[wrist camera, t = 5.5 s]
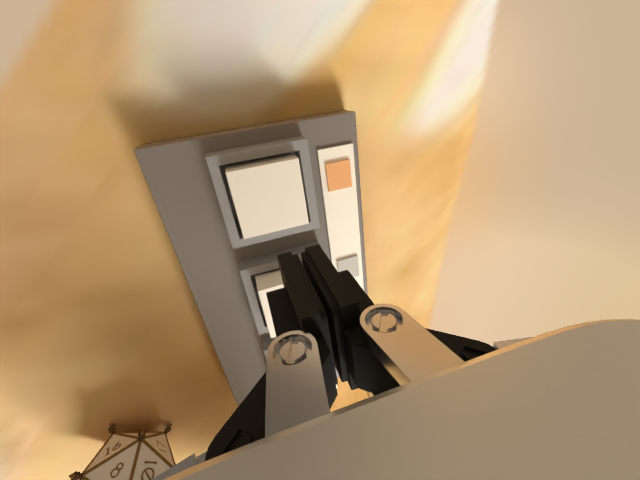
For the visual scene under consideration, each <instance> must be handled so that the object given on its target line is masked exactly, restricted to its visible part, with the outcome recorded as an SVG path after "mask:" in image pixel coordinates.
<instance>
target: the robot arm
mask: <svg viewBox="0 0 640 480" xmlns="http://www.w3.org/2000/svg"><path fill="white" fill-rule="evenodd" d="M301 258H302V263H301V261H300V259H299V257H298V255H297V254H294V255H292V253H291V252H287V253H283V254H279V255H277V259H278V263H279V268H280V272H281V276H282V281H283V285H284V288H280V289H277V290H273V291H270V292H266V295H267V299H268V304H269V308H270V312H271V316H272V320H273V325H274V329H275V333H276V337H277V338H276V339H274V340H273V341H272V342H271V344H270V346H269V347H268V351H267V365H266V372H265V373H264V374H263V376H262V377H261V378H260V380H259V381H258V382H257V383H256V385H255V386H254V387H253V389H252V390H251V391H250V392H249V394H248V395H247V396H246V398H245V399H244V400H243V402H242V403H241V404H240V405H239V407H238V408H237V409H236V411H235V412H234V413H233V414H232V416H231V417H230V418H229V420H228V421H227V422H226V423H225V425H224V426H223V427H222V429H221V430H220V431H219V432H218V434H217V435H216V436H215V438H214V439H213V441H212V442H211V444H210V446H209V447H208V450H207V451H206V452H205V453H203V454H201V455H200V456H198V457H196V455H195V453H194V454H193V455H191V456H189V457H188V458H186V459H184V460H183V461H181V462H179V463H178V464H176V465H174V466H173V467H171V468H169V469H168V470H166V471H164V472H163V473H161V474H159V475H158V476H156V477H154V478H153V479H151V480H640V320H633V319H632V320H631V319H629V320H628V319H623V320H601V321H592V322H586V323H581V324H576V325H572V326H567V327H564V328H560V329H557V330H554V331H551V332H547V333H544V334H541V335H538V336H535V337H529V338H523V339H514V340H507V341H499V342H494V346H493V347H492V346H490V345H489V344H486V343H483V342H480V341H477V340H472V339H468V338H464V337H460V336H456V335H451V334H447V333H443V332H439V331H434V330H430V329H426V328H424V327H423V326H422V325H420V324H419V323H418V322H417V321H416V320H414V319H413V318H412V317H411V316H410V315H409V314H407V313H406V312H405V311H404V310H402V309H401V308H399V307H397V306H394V305H391V304H376V305H374V303H373V302H372V301H371V299H370V298H369V297H368V295H367V294H366V293H365V292H364V290H363V289H362V288H361V286H360V285H359V284H358V282H357V281H356V280H355V278H354V277H353V276H352V274H351V273H350V272H349V271H348V270H344V271H341V272H338V271H337V270H336V268H335V267H334V265H333V264H332V262H331V261H330V260H329V258H328V257H327V255H326V254H325V252H324V251H323V249H322V248H321V247H320V245H319V244H318V245H314V246H310V247H306V248H305V252H301ZM302 264H303V265H302ZM335 367H336V368H335ZM336 370H337V372H338V374H339V377H340V379H341V381H342V382H344V381H348V383H349V385H350V388H351V390H354V389H357V388H360V389H362V390H365V391H367V395H368V397H369V398H367V399H364V400H362V401H359V402H356V403H354V404H351V405H349V406H346V407H343V408H341V409H338V410H335V411H333V412H330V408H331V406H332V404H333V402H334V400H335V398H336V396H337V388H336V384H338V381H337V375H336Z"/></svg>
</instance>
